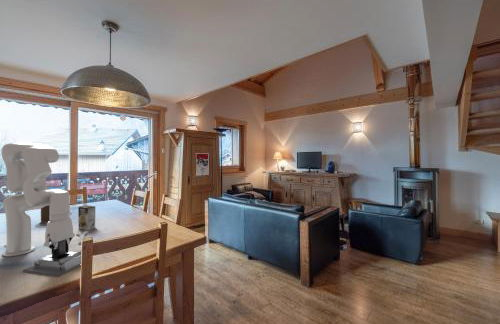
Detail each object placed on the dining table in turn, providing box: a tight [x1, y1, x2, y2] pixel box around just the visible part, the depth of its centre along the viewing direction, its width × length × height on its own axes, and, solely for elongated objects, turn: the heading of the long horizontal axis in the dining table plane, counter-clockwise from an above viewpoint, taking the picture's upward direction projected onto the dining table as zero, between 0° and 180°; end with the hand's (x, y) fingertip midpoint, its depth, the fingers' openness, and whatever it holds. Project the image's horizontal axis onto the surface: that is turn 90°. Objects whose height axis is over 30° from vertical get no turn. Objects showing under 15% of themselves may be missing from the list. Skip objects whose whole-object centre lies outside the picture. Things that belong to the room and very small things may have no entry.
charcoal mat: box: [22, 264, 81, 278], centre depth 110 cm, size 20×16×1 cm
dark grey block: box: [55, 239, 66, 259], centre depth 109 cm, size 4×4×10 cm
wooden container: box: [40, 205, 50, 224], centre depth 185 cm, size 15×15×22 cm
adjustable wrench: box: [75, 230, 89, 245], centre depth 146 cm, size 25×6×2 cm, turn 29°
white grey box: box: [38, 250, 82, 271], centre depth 109 cm, size 15×11×5 cm
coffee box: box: [77, 205, 96, 231], centre depth 166 cm, size 9×6×16 cm
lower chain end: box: [33, 259, 61, 270], centre depth 110 cm, size 15×11×3 cm
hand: (60, 254), depth 109 cm, fingers closed on dark grey block, 4 cm apart
